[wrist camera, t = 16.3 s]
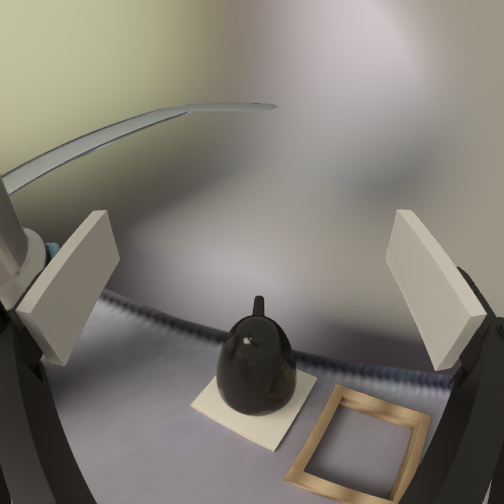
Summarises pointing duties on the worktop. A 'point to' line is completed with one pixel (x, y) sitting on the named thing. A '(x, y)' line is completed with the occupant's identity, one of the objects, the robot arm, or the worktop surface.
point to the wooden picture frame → (377, 408)
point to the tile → (255, 428)
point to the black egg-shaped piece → (256, 366)
